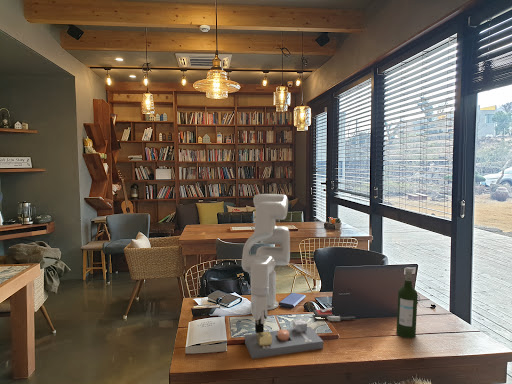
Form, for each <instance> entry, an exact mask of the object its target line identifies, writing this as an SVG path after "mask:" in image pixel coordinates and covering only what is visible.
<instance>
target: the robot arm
mask: <svg viewBox="0 0 512 384" xmlns="http://www.w3.org/2000/svg"><path fill="white" fill-rule="evenodd" d="M252 202H253V206H254V207H255V221H254V230H253V233H252V234H251V235H250V236H249V238H248V239H247V240H246V241H245V243H244V245H243V249H242V255H241V256H242V257H241V267H242V271H244V272H246V273H250V296H251V297H250V312H251V315H252V317H253V318H254V321H255V323H254V324H255V325H254V327H255V329H254V331H255V334H256V333H260V332H265V331H264V327H265V326H264V324H265V320H267V319H268V311H269V310H270V311H271V310H275V309H277V308H278V307H279V301H277V300H276V296H277V295H276V293H277V292H276V290H277V289H276V287H277V284H276V281H277V279H276V277H277V274H276V273H277V272H276V271H275V267H276V266H287V265H289V263H290V259H291V256H290V255H291V234H290V229H289V228H288V227H287V226H283V225H276V224H277V223H276V220H277V221H280V220H281V221H282V220H283V221H284V220H285V219H286V218H287V215H288V210H289V209H288V207H289V199H288V196H287V195H286V194H283V193H282V194H278V193H258V194H255V195H254V196H253V201H252ZM259 242H260V243H261V244H263V245H262V246H259V247H258V248H257V249H256V252H255V254H250V251H251V248H252V247H253V246H254V245H256V244H257V243H259ZM265 245H266V246H265ZM267 245H269V246H267ZM271 245H280V246H271Z"/></svg>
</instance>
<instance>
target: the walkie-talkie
mask: <svg viewBox="0 0 512 384" xmlns="http://www.w3.org/2000/svg"><path fill="white" fill-rule="evenodd" d="M332 308H333V307H326V308H324V309H322V308H320V309H313V313H314V314H315V317H321V318H325V319H328V320H327V321H330V322H341V320H350V319H356V316H340V315H339V316H335V315H333V314H332V312H331V311H332ZM313 313H312V314H313Z"/></svg>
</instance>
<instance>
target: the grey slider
mask: <svg viewBox="0 0 512 384" xmlns="http://www.w3.org/2000/svg"><path fill="white" fill-rule="evenodd" d="M307 327H308V322H307V321H305V319H302V318H301V319H294V320H292V329H294V331H295V332H296V333H297V332H305V331H307Z"/></svg>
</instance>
